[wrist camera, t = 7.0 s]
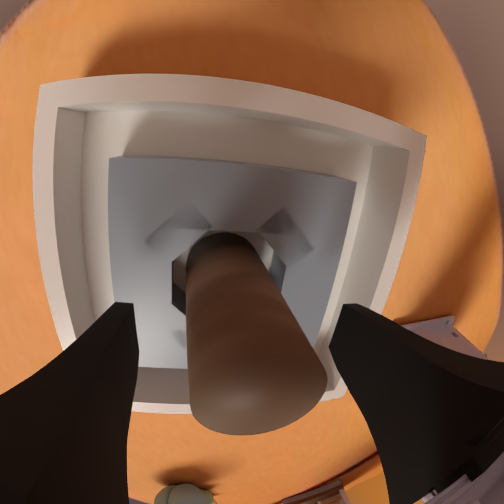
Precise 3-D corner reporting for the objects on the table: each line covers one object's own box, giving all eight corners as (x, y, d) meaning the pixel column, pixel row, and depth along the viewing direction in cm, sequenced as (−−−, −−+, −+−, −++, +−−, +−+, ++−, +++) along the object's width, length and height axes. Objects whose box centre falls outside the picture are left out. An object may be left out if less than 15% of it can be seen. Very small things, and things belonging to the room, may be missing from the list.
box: (383, 132, 13) (426, 135, 10) (323, 363, 19) (342, 396, 16) (74, 95, 9) (40, 84, 6) (96, 365, 15) (85, 405, 12)
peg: (263, 234, 13) (345, 344, 6) (253, 299, 15) (307, 426, 7) (187, 230, 12) (188, 353, 5) (185, 298, 14) (191, 438, 6)
